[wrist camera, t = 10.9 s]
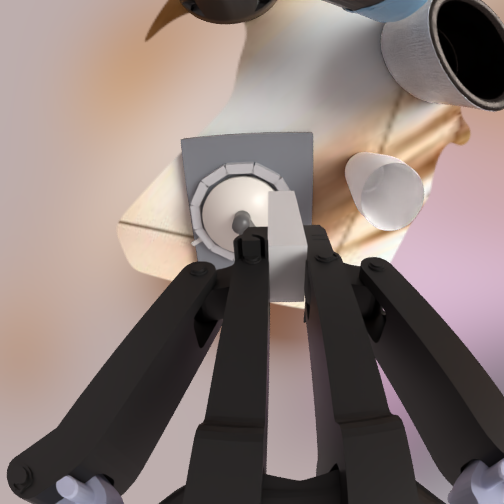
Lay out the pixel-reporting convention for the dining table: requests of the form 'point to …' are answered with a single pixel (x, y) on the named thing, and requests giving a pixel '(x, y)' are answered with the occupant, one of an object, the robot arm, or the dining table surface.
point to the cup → (384, 189)
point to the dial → (235, 208)
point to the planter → (448, 54)
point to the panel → (245, 163)
